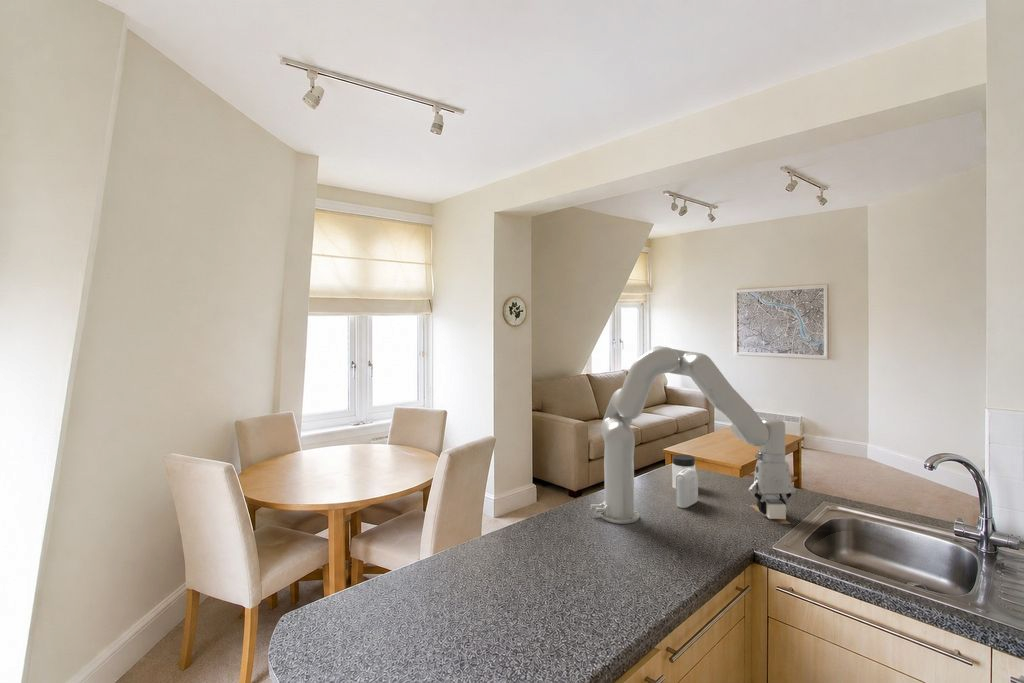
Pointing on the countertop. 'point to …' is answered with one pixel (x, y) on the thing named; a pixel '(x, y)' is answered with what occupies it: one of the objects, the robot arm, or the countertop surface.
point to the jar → (681, 465)
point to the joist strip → (775, 521)
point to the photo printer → (686, 488)
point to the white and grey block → (775, 508)
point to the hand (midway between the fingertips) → (772, 512)
